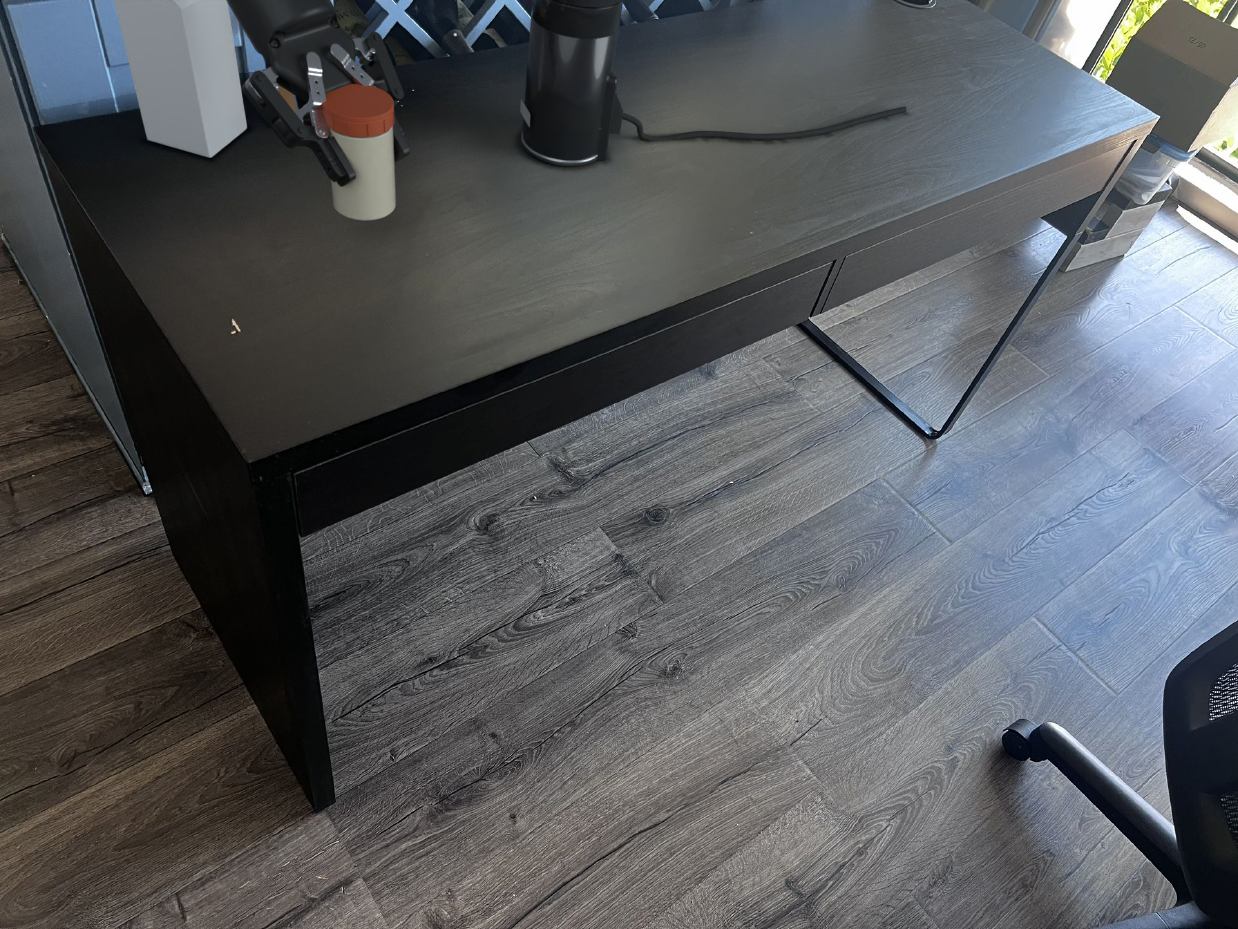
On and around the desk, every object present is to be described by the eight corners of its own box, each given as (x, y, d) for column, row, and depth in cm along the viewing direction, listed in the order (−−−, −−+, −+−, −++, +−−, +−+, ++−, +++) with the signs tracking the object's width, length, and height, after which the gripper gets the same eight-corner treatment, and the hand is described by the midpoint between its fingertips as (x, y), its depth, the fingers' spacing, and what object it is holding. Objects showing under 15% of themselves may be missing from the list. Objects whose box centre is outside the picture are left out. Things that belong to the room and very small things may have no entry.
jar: (394, 186, 88) (391, 91, 82) (397, 221, 85) (393, 124, 78) (332, 185, 87) (323, 88, 80) (332, 220, 84) (323, 121, 77)
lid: (392, 103, 83) (392, 85, 81) (395, 138, 79) (394, 119, 78) (323, 101, 81) (322, 82, 80) (323, 136, 78) (321, 116, 76)
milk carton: (248, 129, 100) (218, -63, 87) (210, 160, 96) (173, -39, 82) (187, 112, 101) (148, -82, 87) (147, 141, 96) (98, -58, 82)
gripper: (207, -23, 70) (331, 185, 75) (353, -61, 79) (456, 128, 84) (176, 22, 76) (293, 214, 81) (316, -18, 85) (414, 157, 90)
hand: (376, 169), depth 82 cm, fingers closed on jar, 5 cm apart
